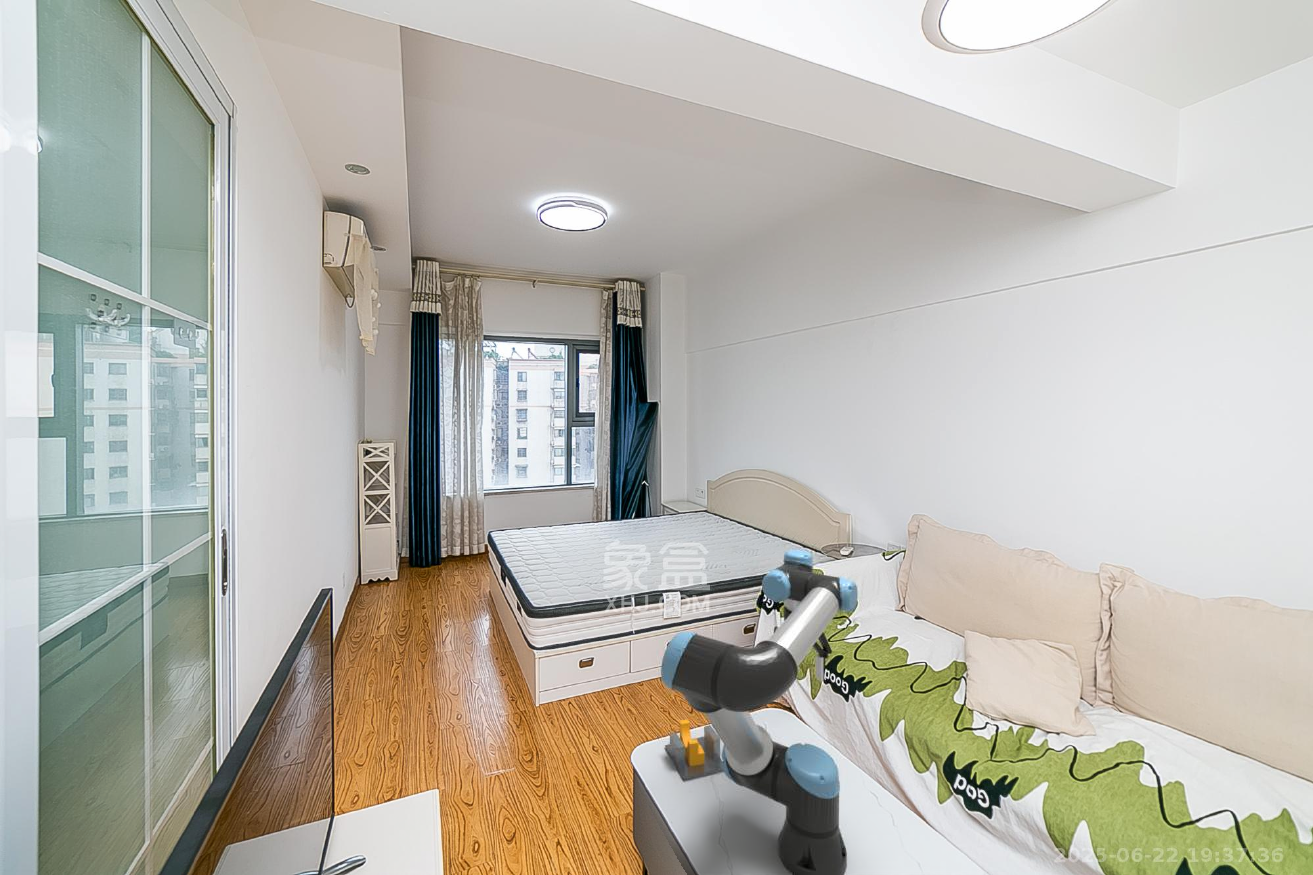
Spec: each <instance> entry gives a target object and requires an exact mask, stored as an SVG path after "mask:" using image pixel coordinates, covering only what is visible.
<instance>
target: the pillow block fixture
mask: <svg viewBox="0 0 1313 875" xmlns="http://www.w3.org/2000/svg"><path fill="white" fill-rule="evenodd" d="M703 727H704V728H703V732H704V733H703V736H700V737H695V738H691V739H692V740H693V739H697V741H698V743H699V745H700V746H701V747H702V749H703V751H704V762H705V764H701V765H694V766H690V765H689V763H688V760H687V758H686V755H685V746H684V744H683V743H682V741H681V739H680V735H678V733H677V732H673V733H669V744H665V746H664V749H665V750H666V753H667V754H668V756H669V757H670V760H671V761H672V763H673V764H674V767H675V768H676V769H677V771H678V773H679V775H680V777H681V778H682V780H683V782H687V781H692V780H695V779H699V778H703V777H707V776H712V775H716V774H720V773H725V772H724V770H723V766H722V762H723V759H722V758H721V739H720V737H719V736H718V734H717V733H716V731H715V730H714V728H713V726H712V725H711V724H710V725H709V724H708V725H705V726H703Z"/></svg>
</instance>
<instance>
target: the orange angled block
mask: <svg viewBox="0 0 1313 875" xmlns="http://www.w3.org/2000/svg"><path fill="white" fill-rule="evenodd" d="M679 738H680V739H681V741H682V743H683V744H684V746H685V755H686V758H687V760H688V763H689V765H690V766H694V765H701V764H705V762H704V751H703V749H702V747H701V746H700V745H699V743H698V741H697V739H695V738H692V735H691V729H690V721H689V719H682V720H679ZM692 739H693V740H692Z"/></svg>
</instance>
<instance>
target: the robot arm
mask: <svg viewBox="0 0 1313 875" xmlns="http://www.w3.org/2000/svg"><path fill="white" fill-rule="evenodd" d="M783 556H784V557H783V564H782V565H780V566H778V567H776V568H774V569H772V570H769V572H768V573H767V574H766V575H764V577H763V579H762V581H761V589H762V591H763V594H764V595H765V596H766V598H767V599H768V600H770V601H772V602H775V603H780V602H783V603H784V604H783V605H784V608H783V610H784V611H783V613H784V616H783V618H784V619H783V620H784V621H783V622H782V623H781V624H780V626H774V627H773V634H772V635H771V636H770V637H769V638H768V639H764V640H762V641H759V642H758V643H756V645H755V646H754V647H743V646H738V645H736V644H731V643H729V642H725V641H721V640H717V639H713V638H711V637H707V636H703V635H700V634H698V633H696V632H690V631H681V632H679V633H677V634H676V635H674V636H673V637H672V638H671V640H670V641H669V643H668V645H667V647H666V649H665V651H664V654H663V657H662V660H661V665H660V666H661V667H660V677H661V681H662V683H663V685H664V686H666V687H667V688H669V689H670V690H671V691H676V692H678V693H680V694H682V696H683V697H684V698H685V700H686V702H687V703H688V705H690V707H691V708H692V709H693V710H695V711H696V712H698V713H702V714H704V716H705V717H706V718H707V720H708V722H709V724H710V726H711V727H712V728H713V730H714V731H715V732H716V734H717V735H718V736H719V737H720V741H721V742H722V744H723V746H722V751H721V760H722V761H723V762H722V766H723V770H724V772H723V773H724V774H725V776H726V777H727V778H728V779H729V780H730V781H733V782H734V783H735V784H736V785H738V786H741V787H744V788H746V789H748V790H750V791H753V792H755V793H757V794H760V795H762V796H764V797H766V798H768V799H770V800H773V801H774V802H777V803H779V804H781V805H783V806H785V818H784V822H783V825H782V829H781V830H780V832H779V836H778V840H777V841H778V842H777V843H778V844H777V845H778V847H777V848H778V851H777V852H778V856H779V859H780V861H781V863H782V864H783V866H784V867H785V869H787V871H789V872H790V873H792V875H844V874H845V872H846V869H847V866H848V853H847V848H846V844H845V841H844V839H843V836H842V835H843V834H842V833H841V829H840V827H839V826H840V791H841V784H840V774H839V768H838V766H837V763H836V762H835V760H834V758H833V757H832V756H831V755H830V754H829V752H826V751H825V750H823V749H822V748H820V747H819V746H817V745H814V744H811V743H806V742H805V743H804V744H803V743H801V742H798V743H794V744H792V745H790V746H789V747H788V746H786V745H783V744H781V743H778V742H776V741H774V740H773V739H772V737H771V735H770V734H769V732H768V731H767V730H766V729H765V728H764V727H762V726H761V725H759V724H757V723H756V722H755V720H754V718H753V717H752V714H751V713H750V712H751V711H755V710H757V709H761V708H763V707H765V706H767V705H770V704H771V703H773V702H775V701H777V700H778V699H779V698H780V697H782V696H783V695H784V694H786V693H787V691H788V690H790V688H791V687H792V686H793V684H794V683H795V682H796V680H797V678H798V675H799V666H800V665H801V664H802V662H803V661H804V659H805V657H806V656H807V655H808V654H809V652H810V651H811V650H812V648H813V649H814V650H815V651H816V652H817V653H816V654H815V656H814V658H815V660H814V661H815V664H814V665H815V666H814V668H815V670H814V672H815V674H814V677H815V678H816V679H817V680H818V681H820V682H824V668H826V659H828V658H829V655H831V654H832V653H833V650H832V647H831V646H830V643H829V642H828V639H827V637H826V635H825V633H824V631H825V630H826V629H827V627H828V626H829V624H830V623H831V622H832V620H833V619H834V618H835V616H836V615H837V613H838V612H839V611H841V612H843V613H844V612H847V613H848V612H849V613H850V612H853V611H854V610H855V608H856V606H857V603H858V602H857V601H858V594H859V593H858V587H857V586H858V585H857V584H856V582H855V581H853V580H851V579H847V578H843V577H841V576H831V575H826V574H821V573H814V572H813V571H814V564H813V556H812V553H810V552H809V551H806V550H802V549H789V550H787V551H785V553H784V555H783ZM818 640H819V643H820V644H818V642H817V641H818Z"/></svg>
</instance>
